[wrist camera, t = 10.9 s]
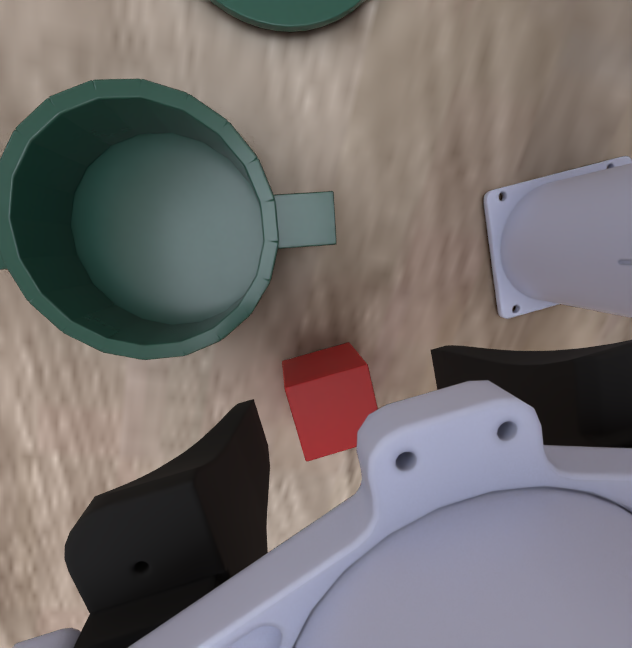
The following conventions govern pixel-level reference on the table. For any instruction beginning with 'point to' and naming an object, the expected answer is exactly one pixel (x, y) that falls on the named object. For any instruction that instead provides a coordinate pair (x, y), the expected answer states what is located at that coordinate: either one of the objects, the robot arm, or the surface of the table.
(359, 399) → the red block
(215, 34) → the table surface
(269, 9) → the lid
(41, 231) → the pot
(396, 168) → the table surface
